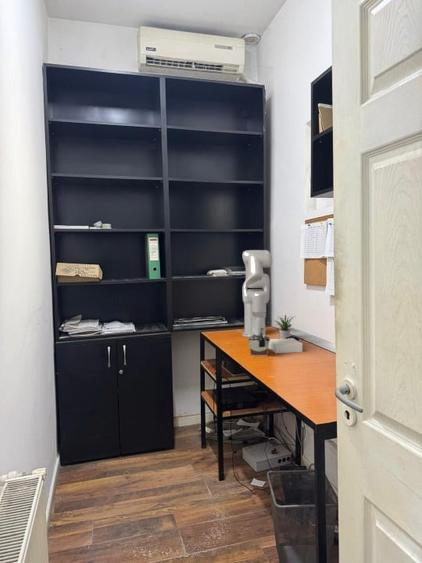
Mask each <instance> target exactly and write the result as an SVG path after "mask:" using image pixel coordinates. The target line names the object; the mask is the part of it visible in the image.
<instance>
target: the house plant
mask: <svg viewBox="0 0 422 563" xmlns="http://www.w3.org/2000/svg"><path fill="white" fill-rule="evenodd" d="M276 317H278V318H276V319H278V320H279V321H278V320H273V321H274V322H275V323H276V324H275V325H278V326H280V329H279V331H278V332H279V339H286V338H287V337H289V338H290V333H291V329H289V328H290V327H292V323H291V322H292V321H293V320H294V319H293V318H296V317H297V316H292V315H291V316H289V317H287V314H285V315H284V318H283V317H281V316H278V315H277V316H276ZM289 318H290V319H289Z"/></svg>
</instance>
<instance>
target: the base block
mask: <svg viewBox="0 0 422 563" xmlns="http://www.w3.org/2000/svg"><path fill="white" fill-rule="evenodd" d="M269 339H270V341H269V347H268V349H269V350H271V351H272V352H274V353H275V354H282V353H283V354H286V353H301V352H303V343H302V342H300V341H298V340H297V339H295V338H294V337H293V338H292V337H289V338H288V339H281V338H272V339H271V338H269Z"/></svg>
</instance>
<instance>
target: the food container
mask: <svg viewBox="0 0 422 563" xmlns="http://www.w3.org/2000/svg"><path fill="white" fill-rule="evenodd" d="M270 339H271V338H270V337H269V336H266V335H265V347H259V340H260V338H259V336H250V337H248V344H249V352H250V353H249V354H250V356H261V357H262V356H264V357H265V356H266V357H267V356H268V355H269V341H270Z"/></svg>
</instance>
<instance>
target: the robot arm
mask: <svg viewBox="0 0 422 563" xmlns="http://www.w3.org/2000/svg"><path fill="white" fill-rule="evenodd" d="M242 260H243V263H244V266H245V281H244V282H243V284H242V290H241V291H242V302H243V305H244V332H242V334H241V335H242V336H243V337H244V338H249V337H250V336H259V338H260V340H259V347H265V336H266V318H267V304H268V303H269V302H270V301H269V300H270V292H271V291H270V290H271V289H270V288H271V287H270V286H271V281H270V276H269V275H268V274H267V273H264V268H271V267H272V265H273V257H272V254H271V252H270V251H269V250H267V249H262V250H261V249H250V250H249V249H248V250H244V251H243V252H242ZM248 288H249V289H248Z"/></svg>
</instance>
